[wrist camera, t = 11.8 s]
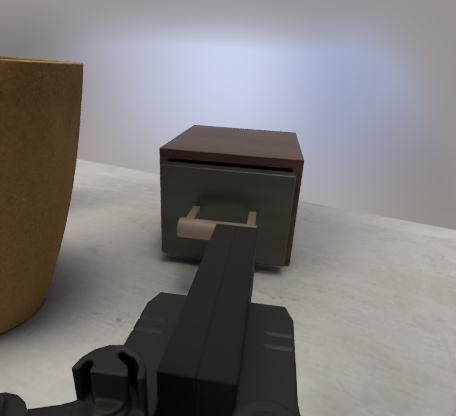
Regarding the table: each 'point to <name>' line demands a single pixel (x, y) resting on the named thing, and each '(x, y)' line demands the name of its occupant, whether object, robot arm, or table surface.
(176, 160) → the cabinet
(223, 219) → the drawer
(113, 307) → the table surface
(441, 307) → the table surface
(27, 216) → the plant pot
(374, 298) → the table surface
